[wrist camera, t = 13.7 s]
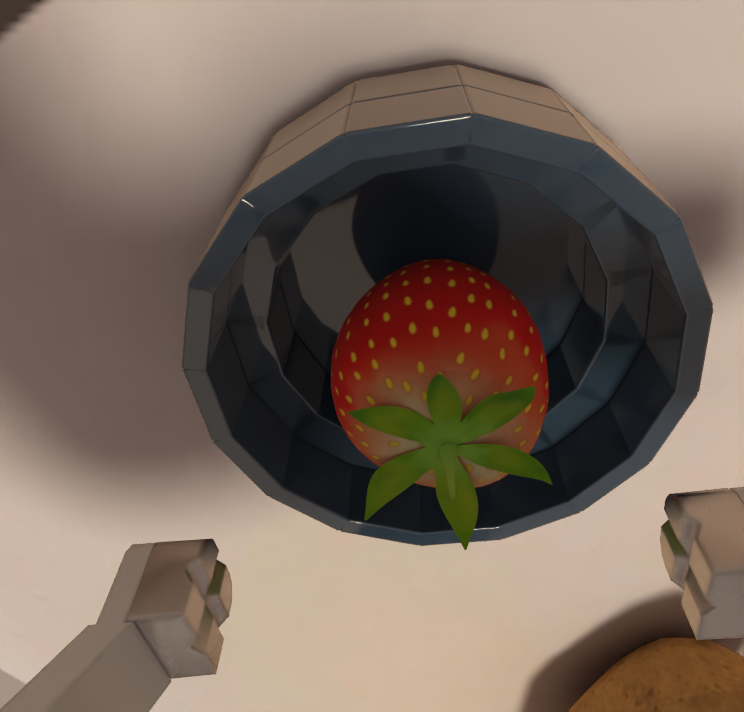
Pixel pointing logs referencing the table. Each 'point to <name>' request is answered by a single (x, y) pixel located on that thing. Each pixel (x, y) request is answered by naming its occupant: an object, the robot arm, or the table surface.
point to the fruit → (441, 385)
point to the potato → (670, 680)
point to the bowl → (458, 243)
